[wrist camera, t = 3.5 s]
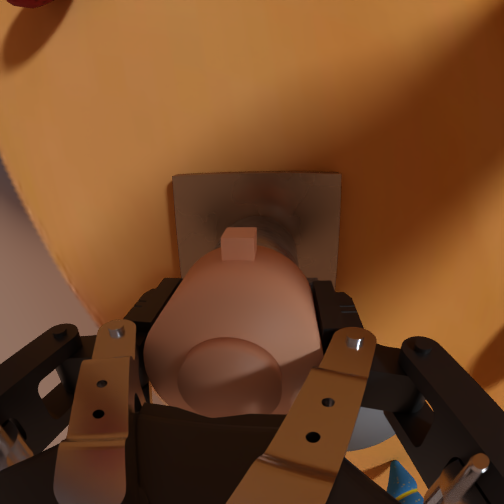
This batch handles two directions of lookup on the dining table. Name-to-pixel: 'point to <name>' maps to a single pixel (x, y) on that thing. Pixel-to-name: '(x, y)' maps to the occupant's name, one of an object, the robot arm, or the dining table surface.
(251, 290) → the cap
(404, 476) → the ornament
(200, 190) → the cylinder on square base
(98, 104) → the dining table surface
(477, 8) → the dining table surface
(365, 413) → the coaster
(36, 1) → the onion
